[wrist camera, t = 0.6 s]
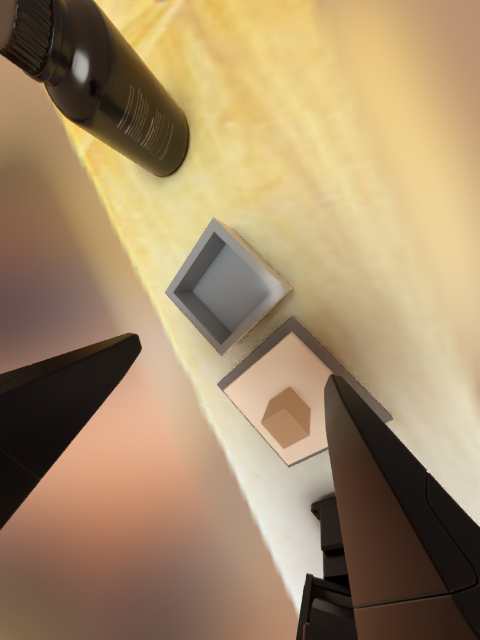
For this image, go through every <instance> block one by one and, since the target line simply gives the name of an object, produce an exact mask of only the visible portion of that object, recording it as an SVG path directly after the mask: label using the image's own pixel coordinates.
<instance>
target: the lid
mask: <svg viewBox="0 0 480 640" xmlns="http://www.w3.org/2000/svg"><path fill="white" fill-rule="evenodd" d="M330 374H334V373H333V372H332V371H331V370H330V369H329V368H328V367H327V366H326V365H325V364H324V363H323V362H322V361H321V360H320V359H319V358H318V357H317V356H316V355H315V354H314V353H313V352H312V351H311V350H310V349H309V348H308V347H307V346H306V345H305V344H304V343H303V342H302V341H301V340H300V339H299V338H298V337H297V336H296V335H295V334H294V333H293V332H292V331H291V332H290V333H289V334H288V335H286V336H285V337H284V338H283V339H282V340H281V341H279V342H278V343H277V344H276V345H275V346H274V347H272V348H271V349H270V350H269V351H268V352H267V353H265V354H264V355H263V356H262V357H261V358H260V359H258V360H257V361H256V362H255V363H254V364H253V365H251V366H250V367H249V368H248V369H247V370H246V371H244V372H243V373H242V374H241V375H240V376H239V377H237V378H236V379H235V380H234V381H233V382H232V383H231V384H229V385H228V386H227V387H226V388H225V389H224V392H225V394H226V395H227V396H228V397H229V398H230V399H231V400H232V402H233V403H234V404H235V405H236V406H237V407H238V409H239V410H240V411H241V412H242V413H243V414H244V415H245V417H246V418H247V419H248V420H249V421H250V422H251V423H252V425H253V426H254V427H255V428H256V429H257V430H258V431H259V433H260V434H261V435H262V436H263V437H264V438H265V440H266V441H267V442H268V443H269V444H270V445H271V446H272V448H273V449H274V450H275V451H276V452H277V453H278V454H279V456H280V457H281V458H282V459H283V460H284V461H285V463H286V464H287V465H290V464H292V463H294V462H296V461H298V460H300V459H303V458H305V457H307V456H309V455H311V454H313V453H315V452H318V451H320V450H322V449H324V448H326V447H328V443H327V437H326V429H325V408H324V387H325V385H326V382H327V380H328V378H329V375H330Z"/></svg>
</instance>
